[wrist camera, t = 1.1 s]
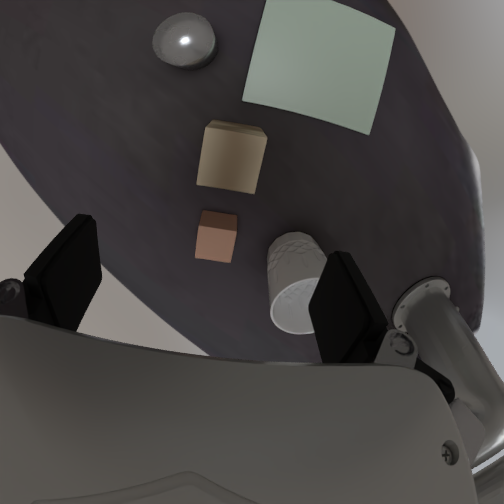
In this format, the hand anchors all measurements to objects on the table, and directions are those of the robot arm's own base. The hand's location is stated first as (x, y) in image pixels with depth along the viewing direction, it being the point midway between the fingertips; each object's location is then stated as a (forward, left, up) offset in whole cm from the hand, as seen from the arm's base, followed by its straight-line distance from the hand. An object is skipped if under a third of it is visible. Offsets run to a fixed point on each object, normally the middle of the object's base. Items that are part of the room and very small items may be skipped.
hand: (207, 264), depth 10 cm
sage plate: (-8, -13, -21) cm, 25 cm away
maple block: (-1, -1, -21) cm, 21 cm away
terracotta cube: (-1, +9, -21) cm, 23 cm away
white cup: (-11, +11, -21) cm, 26 cm away
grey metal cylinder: (+5, -11, -21) cm, 24 cm away
